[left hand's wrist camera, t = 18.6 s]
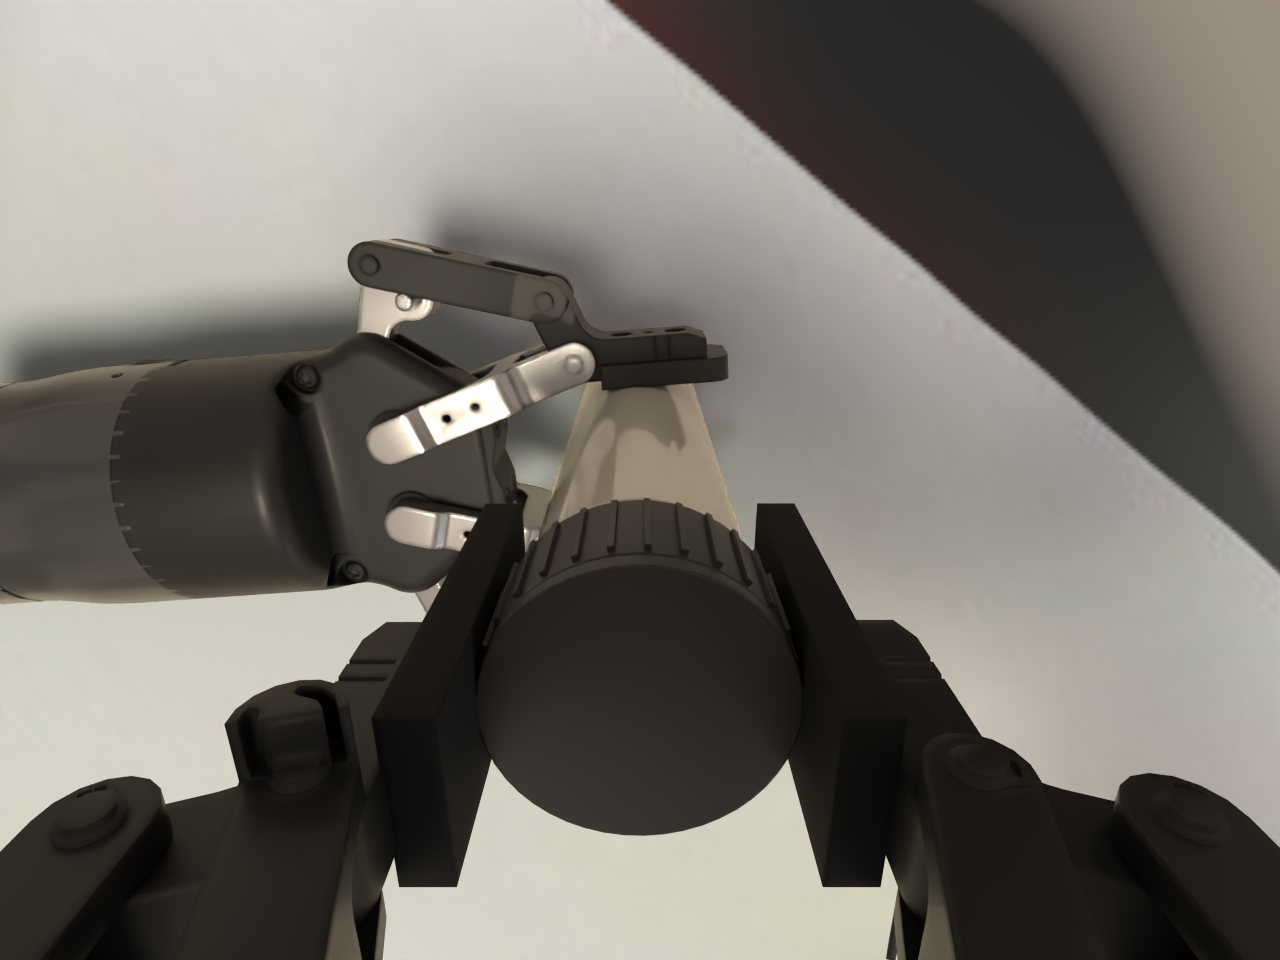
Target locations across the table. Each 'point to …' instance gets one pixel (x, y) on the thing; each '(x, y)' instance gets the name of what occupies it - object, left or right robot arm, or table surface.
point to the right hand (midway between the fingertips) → (725, 440)
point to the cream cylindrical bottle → (639, 454)
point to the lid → (639, 671)
